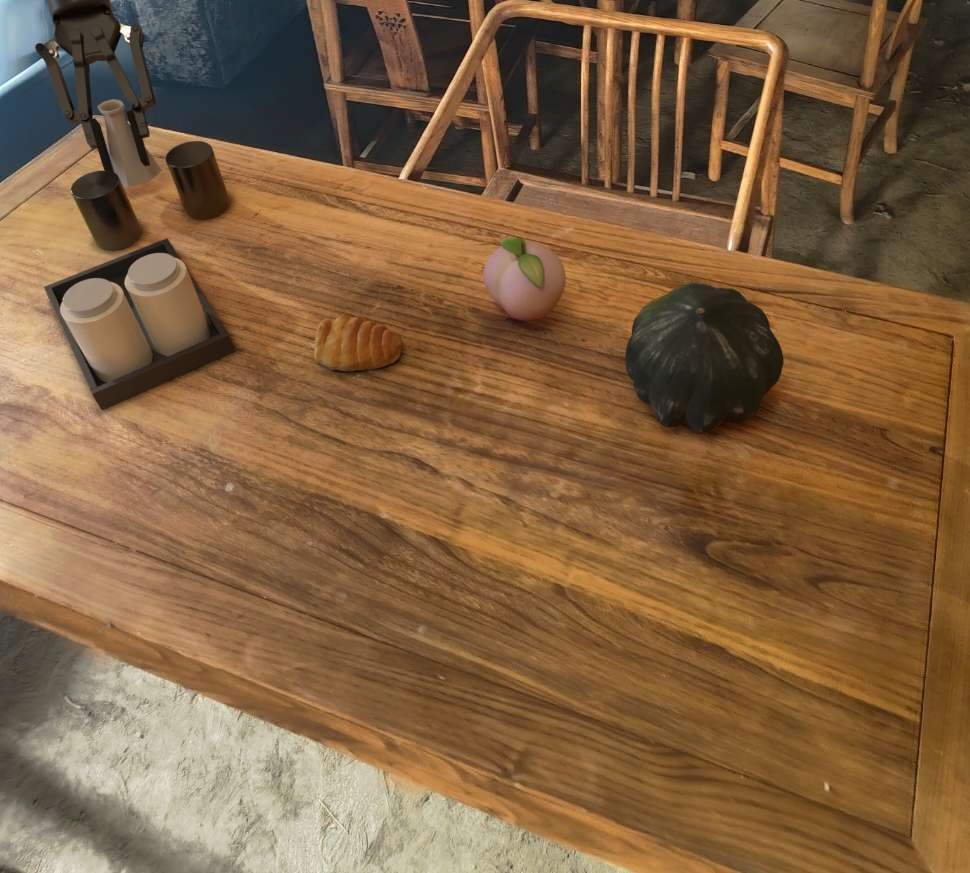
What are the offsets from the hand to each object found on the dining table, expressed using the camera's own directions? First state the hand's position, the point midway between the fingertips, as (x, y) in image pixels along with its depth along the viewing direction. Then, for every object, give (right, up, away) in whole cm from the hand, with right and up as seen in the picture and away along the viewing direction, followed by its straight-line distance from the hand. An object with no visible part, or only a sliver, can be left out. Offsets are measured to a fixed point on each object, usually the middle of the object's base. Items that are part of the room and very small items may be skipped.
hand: (127, 166), depth 121 cm
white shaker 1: (+6, -27, -17) cm, 32 cm away
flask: (-1, 0, +5) cm, 5 cm away
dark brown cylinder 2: (+10, -5, +3) cm, 11 cm away
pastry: (+32, -26, -18) cm, 45 cm away
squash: (+69, -31, -26) cm, 80 cm away
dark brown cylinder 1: (-1, -9, 0) cm, 9 cm away
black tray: (+6, -22, -12) cm, 26 cm away
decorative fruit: (+52, -21, -16) cm, 58 cm away
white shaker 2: (+12, -24, -15) cm, 31 cm away
